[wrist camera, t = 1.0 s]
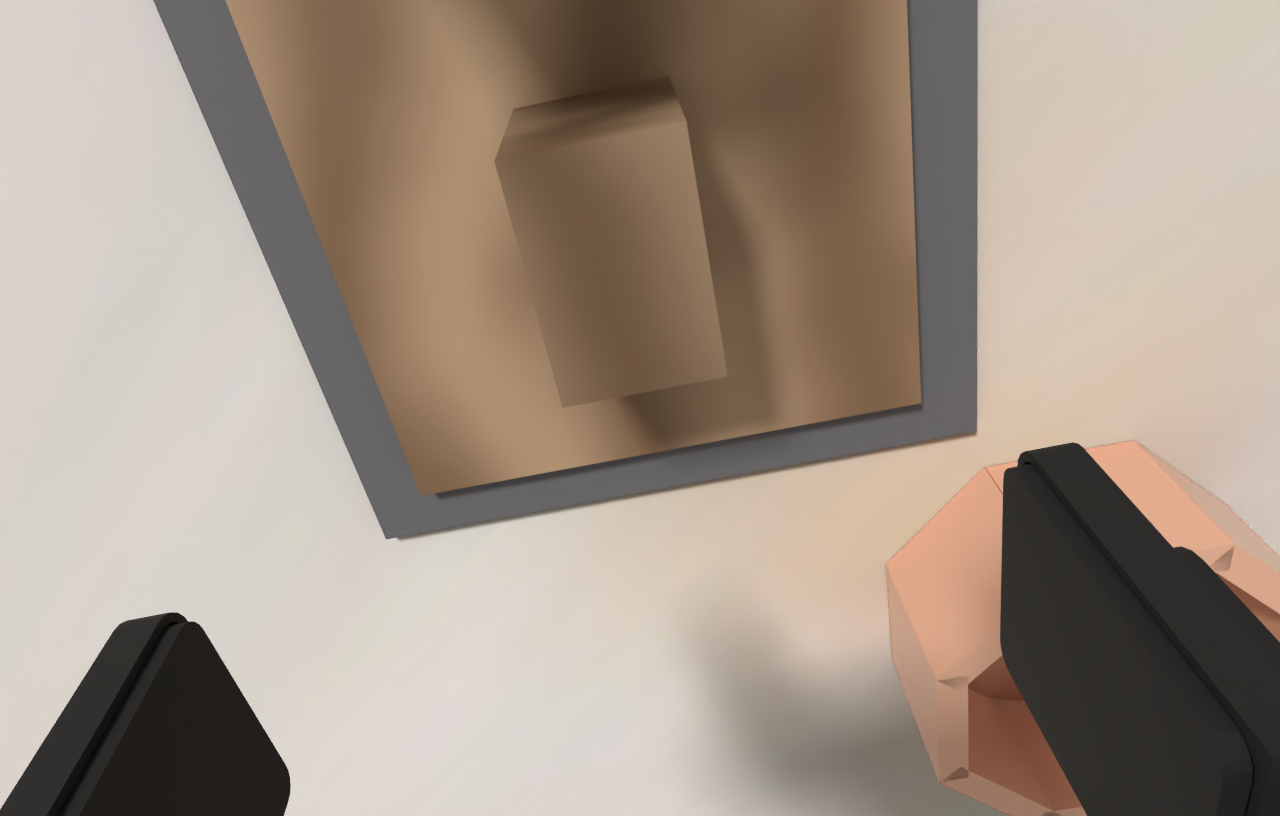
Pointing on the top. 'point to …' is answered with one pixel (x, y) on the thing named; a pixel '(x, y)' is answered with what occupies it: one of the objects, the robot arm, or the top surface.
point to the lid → (604, 215)
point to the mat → (356, 404)
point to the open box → (970, 624)
